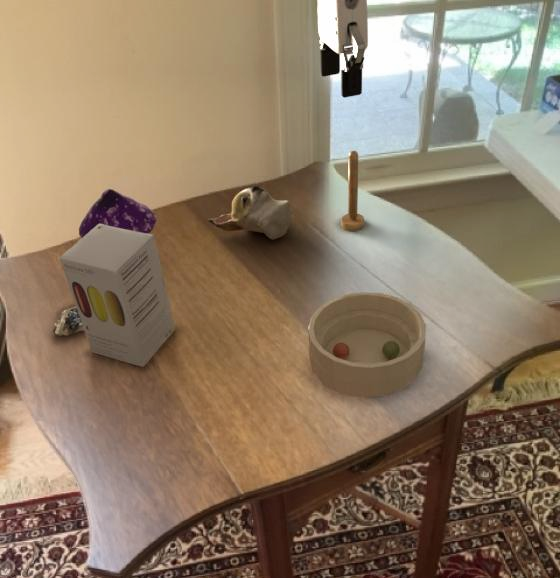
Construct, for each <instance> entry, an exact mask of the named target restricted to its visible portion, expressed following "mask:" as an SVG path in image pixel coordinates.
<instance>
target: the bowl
mask: <svg viewBox="0 0 560 578" xmlns="http://www.w3.org/2000/svg"><path fill="white" fill-rule="evenodd" d="M307 330H308V331H307V332H308V350H309V351H308V353H309V362H310V365H311V369H312V372H313V373H314V375H315V376H316V377H317V378H318V380H319V381H320V382H321V383H323V385H324V384H325V385H326V386H327V387H328V388H330V389H332V390H333V391H335V392H339V393H341V394H344V395H348V396H351V397H361V398H374V397H383V396H387V395H391V394H393V393H396V392H399V391H401V390H403V389H405V388H406V387H407V386H409V385H410V384H411V383H413V381H415V380H416V379H417V377H418V375H419V373H420V371H421V370H422V368H423V362H424V353H425V344H426V331H427V324H426V322H425V320H424V318H423V316H422V314H421V313H420V312H419V311H418V310H417V309H416V307H414V306H413V305H412V304H411V303H409V302H407V301H405V300H403V299H402V298H400V297H397V296H393V295H390V294H387V293H384V292H370V291H359V292H353V293H346V294H342V295H340V296H336V297H333V298H331V299H330V300H328V301H327V302H325V303H324V304H322V305H321V306H319V307H318V308H317V310H316V311H315V312H314V313H313V315H312V316H311V317H310V321H309V325H308V329H307ZM388 341H394V342H396V343H397V344H398V345H399V348H400V352H399V354H398V356H397V357H395V358H392V359H390V358H387V357H385V356H384V355H383V353H382V347H383V345H384V344H385V343H386V342H388ZM338 343H345V344H347V345H348V346H349V348H350V354H349V356H348V357H347V358H346V359H344V360H343V359H340V358H337V357H335V356H334V355H333V348H334V346H335V345H336V344H338Z"/></svg>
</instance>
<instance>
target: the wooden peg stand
mask: <svg viewBox="0 0 560 578" xmlns="http://www.w3.org/2000/svg"><path fill="white" fill-rule="evenodd" d="M347 167H348V171H347V172H348V173H347V174H348V181H347V182H348V187H347V188H348V192H347V196H348V197H347V198H348V203H347V204H348V205H347V206H348V207H347V213H346V214H344V215H342V216H341V219H340V220H341V221H340V223H341V228H342V229H344V230H346V231H350V232H351V231H352V232H353V231H354V232H356V231H359V230H361V229H363V228H364V226H365V216H363V215H362V214H360V213H358V207H359V206H358V204H359V201H358V200H359V199H358V198H359V197H358V196H359V153H358V152H357V151H356V150H352V151H349V153H348V166H347Z"/></svg>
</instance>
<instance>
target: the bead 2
mask: <svg viewBox="0 0 560 578" xmlns="http://www.w3.org/2000/svg"><path fill="white" fill-rule="evenodd" d="M399 352H400V348H399V345H398V344H397V343H396V342H394V341H388V342H386V343H385V344H384V345H383V347H382V353H383V355H384V356H385V357H387V358H390V359H392V358H395V357H397V356H398V354H399Z"/></svg>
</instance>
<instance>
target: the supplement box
mask: <svg viewBox="0 0 560 578" xmlns="http://www.w3.org/2000/svg"><path fill="white" fill-rule="evenodd" d="M59 261H60V264H61V266H62V270H63V272H64V275H65V278H66V281H67V284H68V287H69V289H70V293H71V295H72V298H73V301H74V305H75V306H76V307H77V310H78V313H79V316H80V319H81V322H82V325H83V328H84V331H83V332H84V333H85V336H86V339H87V342H88V345H89V348H90V350H91V353H93V354H96V355H97V354H98V355H100V356H103V357H108V358H110V359H114V360H116V361H117V360H118V361H120V362H124V363H127V364H131V365H134V366H136V367H137V366H138V367H141V368H144V367H145V366H146V365H147V364H148V363H149V362H150V360H151V359H152V358H153V356H154V355H155V354H156V353H157V352H158V351H159V350H160V348H162V346H163V345H164V343H165V342H166V341H167V340H168V339H169V337H171V335H172V334H173V333H174V332H175V330H176V327H175V322H174V318H173V317H174V316H173V313H172V309H171V303H170V300H169V296H168V290H167V286H166V280H165V277H164V273H163V269H162V264H161V258H160V254H159V250H158V245H157V241H156V237H155V234H152V233H149V234H147V233H141V232H136V231H131V230H126V229H121V228H117V227H112V226H108V225H104V224H98V225H97V226H96V227H94V228H93V229H92V230H91V231H90V232H89V233H87V234H86V235H85V236H84V237H83V238H80V239H79V240H78V241H77V242H76V243H75V244H73V245H72V246H71V247H69V249H68V250H66V251H65V252H64V253H63V254H62V255H61V256H60V257H59Z"/></svg>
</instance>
